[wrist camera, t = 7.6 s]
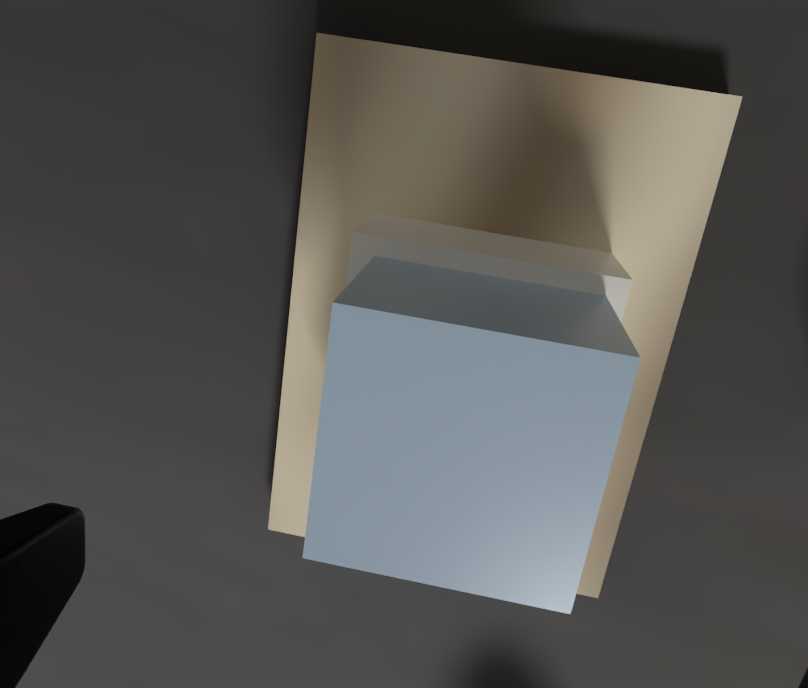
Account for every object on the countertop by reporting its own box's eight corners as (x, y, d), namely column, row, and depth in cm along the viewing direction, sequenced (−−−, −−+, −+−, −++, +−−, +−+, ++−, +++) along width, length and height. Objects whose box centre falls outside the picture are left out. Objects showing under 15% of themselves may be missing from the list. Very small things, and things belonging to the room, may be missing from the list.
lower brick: (611, 253, 18) (633, 280, 15) (559, 464, 20) (569, 524, 17) (376, 213, 18) (352, 232, 15) (347, 423, 20) (322, 475, 17)
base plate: (729, 97, 17) (742, 96, 16) (593, 577, 22) (597, 598, 21) (326, 36, 18) (316, 32, 17) (277, 511, 22) (268, 529, 21)
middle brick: (605, 295, 15) (640, 357, 11) (555, 500, 17) (570, 614, 13) (374, 255, 15) (332, 302, 12) (347, 459, 17) (303, 557, 13)
